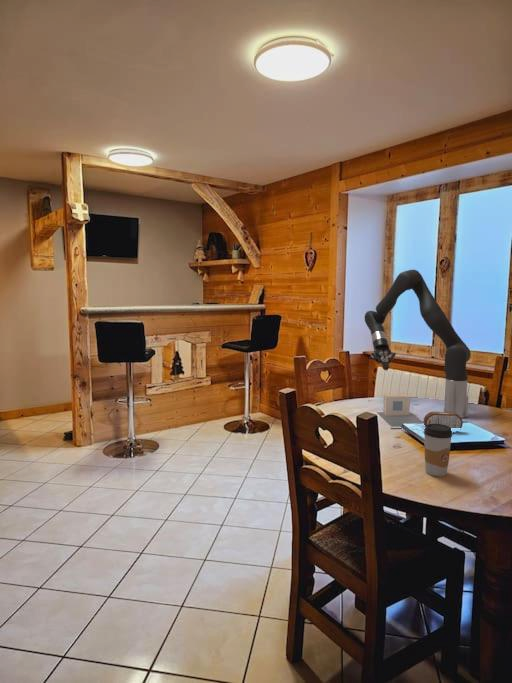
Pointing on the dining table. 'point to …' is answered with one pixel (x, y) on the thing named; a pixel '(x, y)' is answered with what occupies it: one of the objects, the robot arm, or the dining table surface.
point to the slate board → (400, 419)
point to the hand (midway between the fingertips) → (386, 369)
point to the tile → (396, 405)
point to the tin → (444, 419)
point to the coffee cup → (437, 449)
